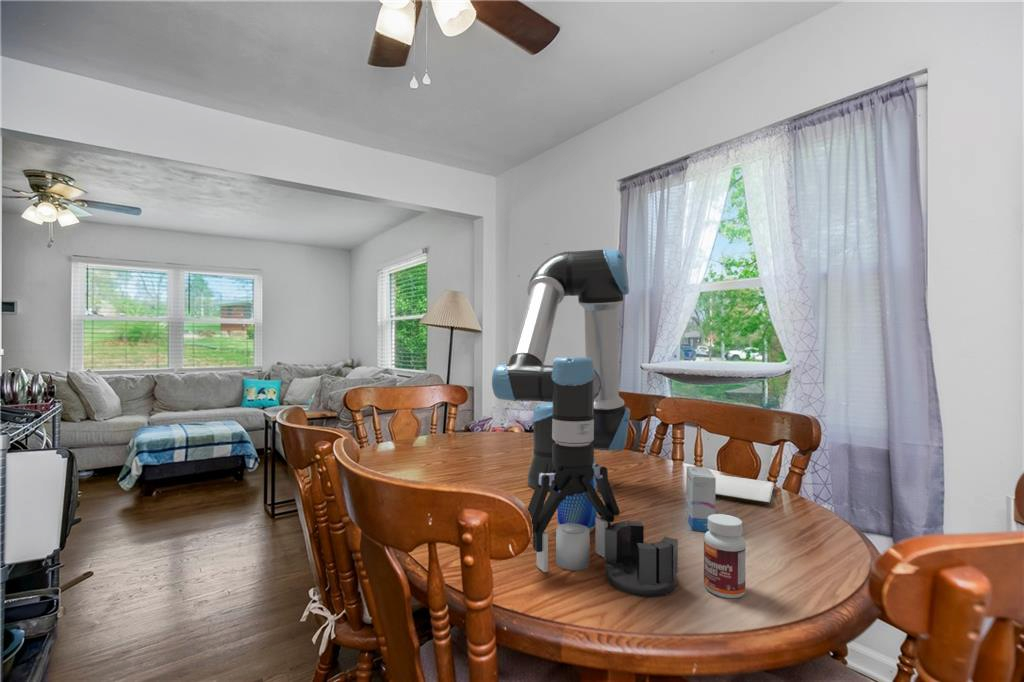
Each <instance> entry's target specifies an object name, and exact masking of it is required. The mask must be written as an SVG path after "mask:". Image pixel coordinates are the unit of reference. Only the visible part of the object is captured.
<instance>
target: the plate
mask: <svg viewBox="0 0 1024 682" xmlns="http://www.w3.org/2000/svg"><path fill="white" fill-rule="evenodd" d="M712 474H713V475H714V476H715V478H716V492H715V498H719V499H720V498H721V499H726V500H733V501H739V502H745V503H751V504H757V505H759V504H762V505H763V504H770V502H771V498H772V494H773V490H774V486H775V482H773V481H767V480H758V479H753V478H752V479H751V478H745V477H744V478H742V477H739V476H738V477H736V476H729V475H722V474H717V473H716V474H715V473H712Z"/></svg>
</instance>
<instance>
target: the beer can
mask: <svg viewBox="0 0 1024 682" xmlns="http://www.w3.org/2000/svg"><path fill="white" fill-rule="evenodd" d="M595 465H597V462H596V461H595V459H594V463H593V464H592V467H595ZM590 483H591V484H592V486H593V487H594V489H595V490H596V491H595V492H596V493H598V492H597V491H598V490H597V489H598V485H597V482H596V479H595V477H594V476H593V478H592V480H591V481H590ZM558 493H560V490H559V491H558ZM556 512H557V513H556V514H557V515H556V516H557V517H556V518H557V523H558V524H559V525H561V524H565V523H576V524H581V525H584V526H586V527H588V528H589V530H590V533H591V532H593V530H594V528H596V518H597V517H598V515H597V514H598V513H597V511H596V510H595V508H594V507H593V506H592V504H591V503H590V501H589V500H588V498H587V497H586V495H585V494H584V493H583V494H574V495H572V496H568V495H567V496H566V498H565V500H563V501H562V502H561V503H560V505H559V507H558V508H557V510H556ZM559 525H558V526H559Z"/></svg>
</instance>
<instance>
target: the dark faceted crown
mask: <svg viewBox="0 0 1024 682" xmlns="http://www.w3.org/2000/svg"><path fill="white" fill-rule="evenodd" d="M644 527H645V526H644V524H643V522H642V521H638V520H637V521H635V520H626V521H625V520H623V521H619V522H614V523H613V522H612V524H611V523H610V525H609V526H608V527H607V528H606V529H605V558H604V560H605V561H604V562H605V563H604V565H605V567H604V570H605V571H604V575H605V580H606V581H607V583H608V584H609V585H610V586H612V587H613V588H615V589H616V590H618V591H619V592H620V591H621V592H623V593H625V594H627V595H632V596H635V597H637V596H638V597H643V598H658V597H663V596H666V595H669V594H671V593H672V592H674V591H675V590H676V588H677V584H678V583H677V582H678V581H677V580H678V577H677V576H678V572H679V571H678V569H679V568H678V565H679V564H678V563H679V562H678V560H679V559H678V558H679V555H678V554H679V550H678V546H679V544H678V542H679V540H678V539H677V538H674V537H673V538H672V537H669V536H664V537H663V538H662V539H661V540H660V541H655V542H653V543H647V542H646V543H645V541H644V539H645V534H644V533H645V530H644V529H645V528H644Z"/></svg>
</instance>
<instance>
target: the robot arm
mask: <svg viewBox="0 0 1024 682" xmlns="http://www.w3.org/2000/svg"><path fill="white" fill-rule="evenodd" d="M627 269H628V268H627V263H626V259H625V255H624V253H623V252H622V251H621V250H619V249H609V248H608V249H606V248H604V249H594V250H577V251H574V250H573V251H563V252H559V253H557V254H555V255H552V256H551V257H549V258H547V259H546V260H545V261H544V262H543V263H542V264H541V265H540V266H538V268H537V269H536V270H535V271H534V272H533V275H532V276H531V278H530V280H529V283H528V286H527V296H528V300H527V302H526V306H525V308H524V312H523V315H522V319H521V322H520V325H519V329H518V331H517V335H516V338H515V342H514V344H513V348H512V351H511V354H510V357H509V360H508V363H504V364H497V365H496V366H495V367H494V369H493V372H492V375H491V388H492V391H493V394H494V396H495V398H497V399H499V400H503V401H504V400H505V401H511V402H512V401H513V402H517V401H519V402H520V401H521V402H543V403H539V404H537V405H536V406H535V407H534V409H533V419H532V424H533V432H532V433H533V457H532V460H531V463H530V466H529V469H528V473H527V475H526V476H527V477H526V478H527V479H526V481H527V482H526V483H527V486H529V487H530V488H533V489H534V491H533V493H532V495H531V499H530V502H529V504H528V507H527V509H528V511H529V513H530V515H531V518H532V524H533V532H532V549H533V550H534V551H535V552H536V567H537V568H538V569H540V570H541V571H542V572H543V573H548V572H549V533H548V532H546V531H545V530H547V527H548V525H549V524H550V522H551V520H552V519H553V517H554V515H555V514H556V512H557V508H558V507H559V505H560V503H561V502H562V501H563V500H565V498H566V496H567V495H568V496H572V495H574V494H583V493H584V494H585V495H586V497H587V498H588V500H589V501H590V503H591V504H592V506H593V507H594V508H595V510H596V511H597V514H598V515H599V516H597V518H596V526H595V553H596V554H598V555H599V556H600V557H602V558H603V559H605V529H606V528H607V527H608V526H609V525H611V523H613V522H614V521H615V516H616V517H617V516H619V515H620V508H619V505H618V503H617V499H616V497H615V494H614V491H613V489H612V486H611V484H610V481H609V475H608V468H607V467H606V466H603V465H600V464H597V463H596V464H597V465H595V467H592V464H593V463H594V460H595V451H606V452H611V451H612V452H614V451H616V452H617V451H618V452H619V451H622V450H624V449H625V447H626V444H627V439H628V430H629V424H630V417H631V415H630V414H631V409H630V408H629V407H625V400H624V399H623V398H622V396H621V397H620V395H619V394H620V393H619V392H620V391H619V388H620V386H619V384H620V383H619V334H618V333H619V331H618V330H619V328H618V327H619V326H618V325H619V323H618V320H619V319H618V307H620V305H622V304H623V303H624V296H626V295H628V294H629V293H630V287H629V286H630V285H629V276H628V275H629V274H628V270H627ZM567 296H569V297H571V296H573V297H574V296H575V297H576V296H577V297H578V299H577V301H578V304H579V305H580V306H581V307H582V308H583V310H584V342H585V343H584V344H585V356H583V357H582V356H567V357H566V356H563V357H561V356H558V357H556V358H554V359H553V361H552V365H546V364H545V361H546V356H547V353H548V347H549V343H550V340H551V339H550V338H551V335H552V331H553V327H554V322H555V319H556V314H557V310H558V305H560V303H562V302H563V300H564V298H565V297H567ZM593 476H594V477H595V479H596V482H597V489H598V490H599V493H600V496H601V498H600V496H599V494H597V493H598V492H597V493H596V492H595V491H596V490H595V489H594V487H593V486H592V484H591V483H590V481H591V480H592V478H593ZM559 490H560V493H558V491H559ZM548 494H549V495H548ZM547 495H548V496H547Z"/></svg>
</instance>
